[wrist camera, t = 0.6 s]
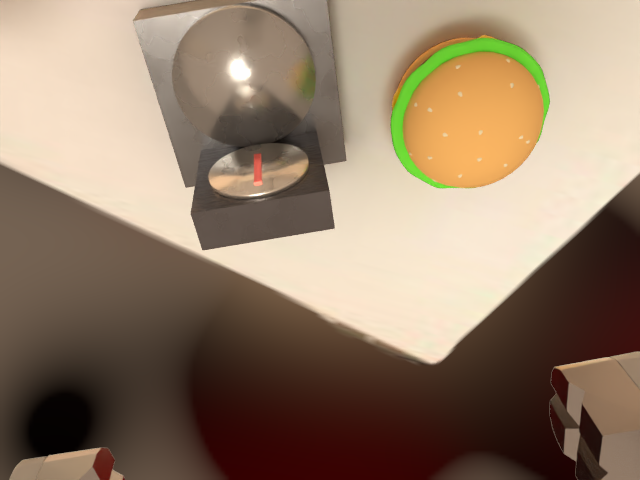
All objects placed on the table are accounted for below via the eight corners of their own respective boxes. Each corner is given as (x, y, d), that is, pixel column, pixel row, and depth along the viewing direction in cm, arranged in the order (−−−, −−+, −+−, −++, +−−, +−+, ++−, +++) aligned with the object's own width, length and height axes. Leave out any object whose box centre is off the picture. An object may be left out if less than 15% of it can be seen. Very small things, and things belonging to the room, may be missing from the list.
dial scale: (140, 9, 41) (104, 66, 31) (321, -21, 41) (343, 26, 31) (189, 169, 48) (173, 255, 39) (341, 144, 48) (364, 223, 39)
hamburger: (419, 186, 52) (446, 242, 45) (353, 77, 45) (371, 123, 38) (545, 114, 49) (594, 162, 42) (492, -12, 42) (540, 19, 35)
